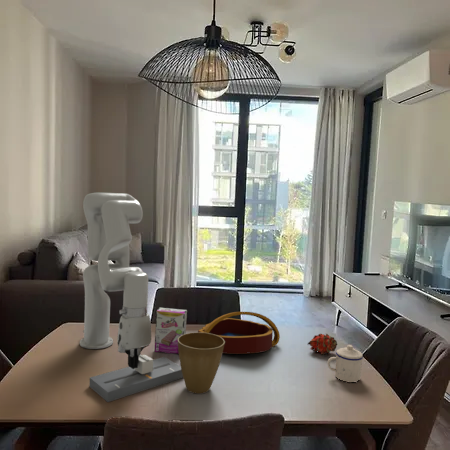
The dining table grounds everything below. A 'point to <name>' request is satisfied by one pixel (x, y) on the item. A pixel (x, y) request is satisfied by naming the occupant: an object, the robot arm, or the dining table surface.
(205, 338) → the plant pot
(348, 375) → the teacup with lid
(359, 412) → the dining table surface
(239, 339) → the decorative basket
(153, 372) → the fader panel
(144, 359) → the fader knob
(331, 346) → the dragon fruit
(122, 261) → the robot arm
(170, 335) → the candy bar box
